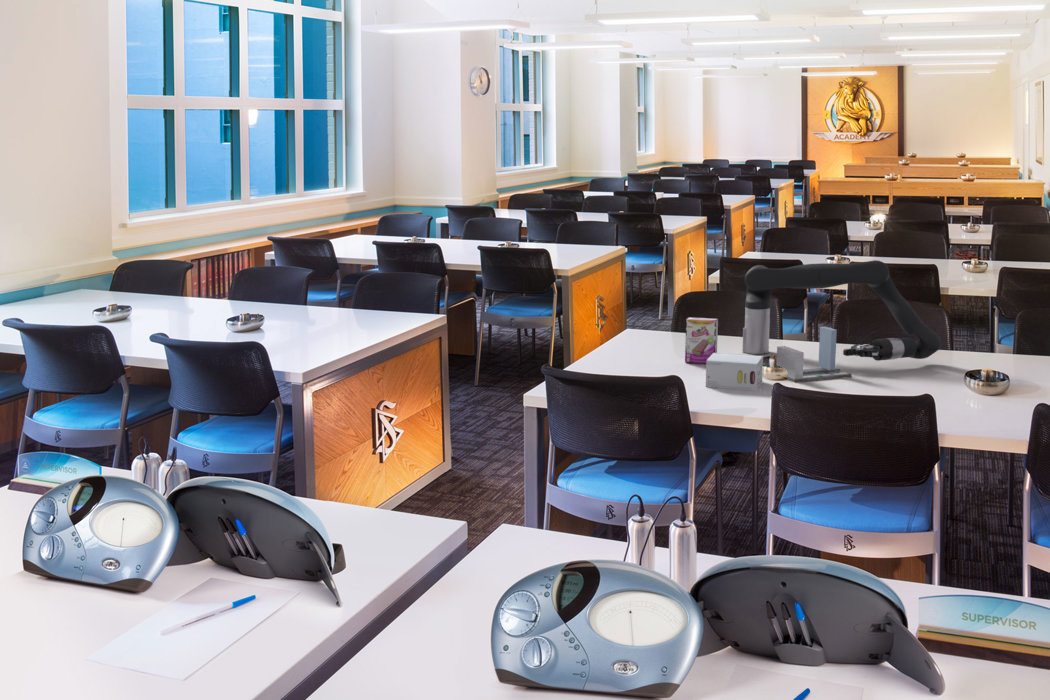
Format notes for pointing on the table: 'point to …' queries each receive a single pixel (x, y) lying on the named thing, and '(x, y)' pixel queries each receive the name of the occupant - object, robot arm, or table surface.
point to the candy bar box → (700, 339)
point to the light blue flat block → (827, 348)
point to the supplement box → (734, 371)
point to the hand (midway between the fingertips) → (844, 352)
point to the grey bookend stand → (794, 367)
